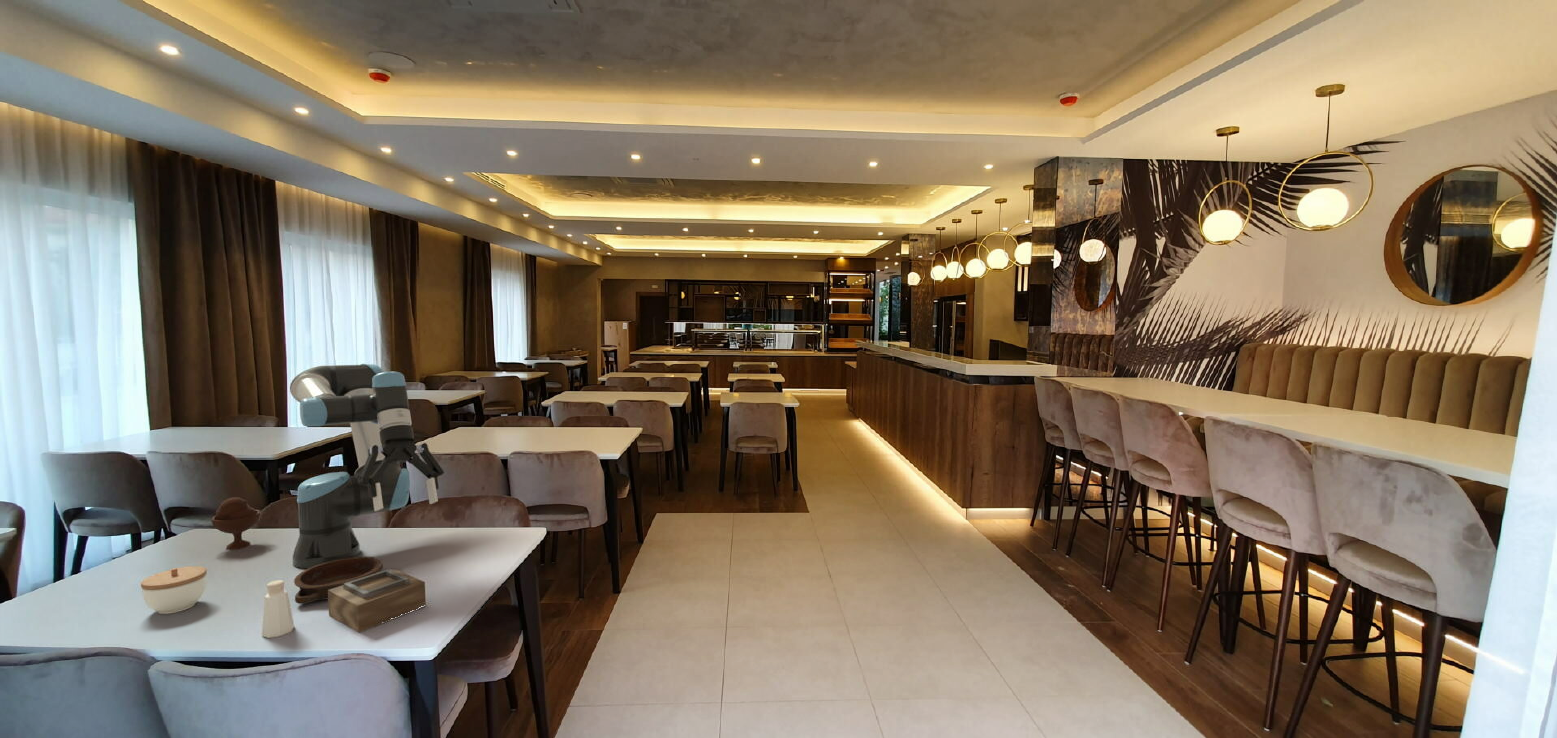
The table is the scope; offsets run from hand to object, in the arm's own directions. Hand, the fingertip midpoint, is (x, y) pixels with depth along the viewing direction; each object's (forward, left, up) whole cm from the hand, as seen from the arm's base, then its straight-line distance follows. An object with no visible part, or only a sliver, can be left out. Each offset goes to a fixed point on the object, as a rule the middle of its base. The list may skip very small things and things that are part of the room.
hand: (407, 506), depth 154 cm
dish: (-9, -12, -20) cm, 25 cm away
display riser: (+12, -13, -19) cm, 26 cm away
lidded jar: (-29, -37, -20) cm, 51 cm away
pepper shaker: (+4, -29, -20) cm, 35 cm away
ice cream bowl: (-66, -15, -20) cm, 71 cm away
